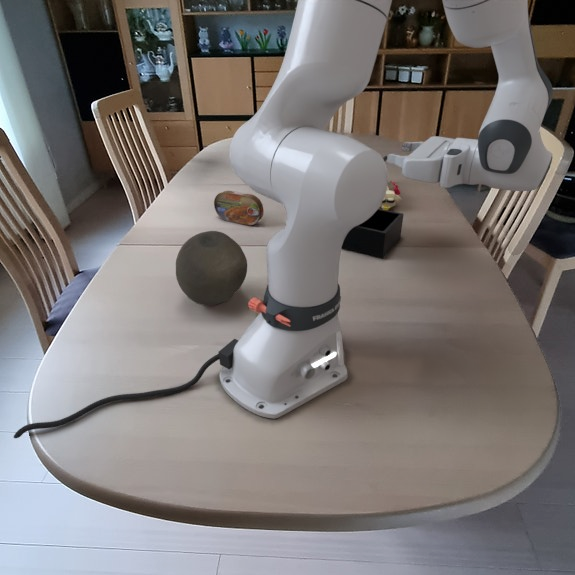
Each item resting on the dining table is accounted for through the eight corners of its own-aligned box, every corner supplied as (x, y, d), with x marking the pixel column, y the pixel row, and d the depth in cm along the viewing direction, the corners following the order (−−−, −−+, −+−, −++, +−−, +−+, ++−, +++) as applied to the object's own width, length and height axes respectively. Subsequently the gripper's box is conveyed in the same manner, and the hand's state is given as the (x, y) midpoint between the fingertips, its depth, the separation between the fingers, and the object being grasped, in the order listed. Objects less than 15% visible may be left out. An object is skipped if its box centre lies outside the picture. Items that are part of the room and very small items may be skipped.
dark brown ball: (184, 326, 87) (171, 259, 79) (179, 288, 98) (167, 225, 90) (255, 313, 90) (250, 247, 82) (242, 277, 101) (236, 216, 93)
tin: (215, 218, 128) (211, 190, 124) (221, 214, 131) (218, 186, 126) (260, 228, 122) (258, 199, 118) (265, 223, 125) (264, 195, 120)
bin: (400, 237, 116) (403, 213, 112) (382, 259, 107) (385, 233, 103) (345, 225, 123) (346, 202, 119) (324, 244, 114) (324, 219, 110)
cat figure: (362, 186, 150) (368, 210, 128) (364, 159, 146) (370, 180, 124) (392, 186, 149) (403, 211, 127) (395, 159, 145) (407, 180, 123)
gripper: (474, 133, 98) (413, 126, 104) (450, 158, 84) (380, 149, 90) (469, 161, 102) (409, 153, 108) (444, 191, 87) (377, 179, 93)
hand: (396, 151), depth 99 cm, fingers open, 8 cm apart
